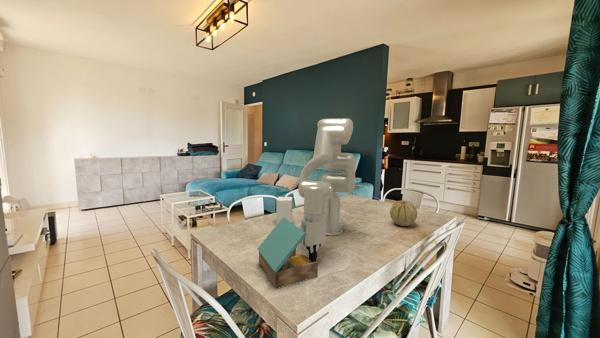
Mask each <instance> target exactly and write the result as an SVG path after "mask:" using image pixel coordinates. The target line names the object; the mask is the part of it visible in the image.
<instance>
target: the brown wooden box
mask: <svg viewBox="0 0 600 338" xmlns="http://www.w3.org/2000/svg"><path fill="white" fill-rule="evenodd" d="M295 255H297V247H296V248H295V250H294V251H293V252H292V254H291V255H290V256H289V257H288V258H292V257H291V256H295ZM259 263H260V264H259ZM258 264H259V265H260V267H261V266H262V267H261V268H262V269H264V270H263V271H264V272H266V273H265V274H266V276H267V275H268V276H269V277H268V276H267V277H268V279H269V278H270V279H271V280H270V279H269V280H270V281H272V282H273V283H272V282H271V283H272V285H273V286H274V285H275V286H274V287H275V289H276V288H277V289H280V288H283V287H282V286H284V287H287V286H290V285H289V284H291V285H293V283H294V284H297V283H296V282H298V283H301V282H304V281H307V280H306V279H308V280H311V279H314V278H313V277H315V278H317V276H319V273H318V268H319V262H318V261H317V260H316V262H315V261H314V262H312V261H311V262H310V263H308V264H304V265H301V266H297V267H293V268H286V269H285V268H284V269H281V270H278V271H277V273H276V272H275V271H274V270H273V269H272V268H271V266H270V265H269V264H268V262H267V261H266V260H265V258H264V257H263V256H262V254H261V253H260V252H259V251H258ZM310 278H311V279H310ZM303 280H304V281H303ZM300 281H301V282H300ZM286 285H287V286H286ZM279 287H280V288H279Z"/></svg>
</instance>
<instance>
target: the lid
mask: <svg viewBox="0 0 600 338" xmlns="http://www.w3.org/2000/svg"><path fill="white" fill-rule="evenodd" d="M306 235H307V234H306V233H305V232H304V231H302V230H301V229H300V228H299V226H297V225H295V223H293V222H292V223H291V222H290V221H288V220H287V219H286V218H284V217H283V218H282V219H281V221H280V222H279V223H278V224H277V225H276V226H275V227H273V229H272V230H271V231H270V233H269V234H268V235H267V236H266V238H265V239H264V240H263V241H262V243H260V244H259V245H258V247H257V250H258V253H259V252H260V253H261V254H262V256H263V257H264V258H265V260H266V261H267V262H268V264H269V265H270V266H271V268H272V269H273V270H274V271H275V272H276V273H277V271H280V269H281V267H282V266H283V265H284V264H285V263H286V262H287V261H288V259H289V258H290V257H289V256H290V255H291V254H292V252H293V251H294V250H295V248H296V249H297V247H298V246H299V245H300V244H301V243H300V242H301V241H302V240H303V238H304V237H305V236H306Z"/></svg>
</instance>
